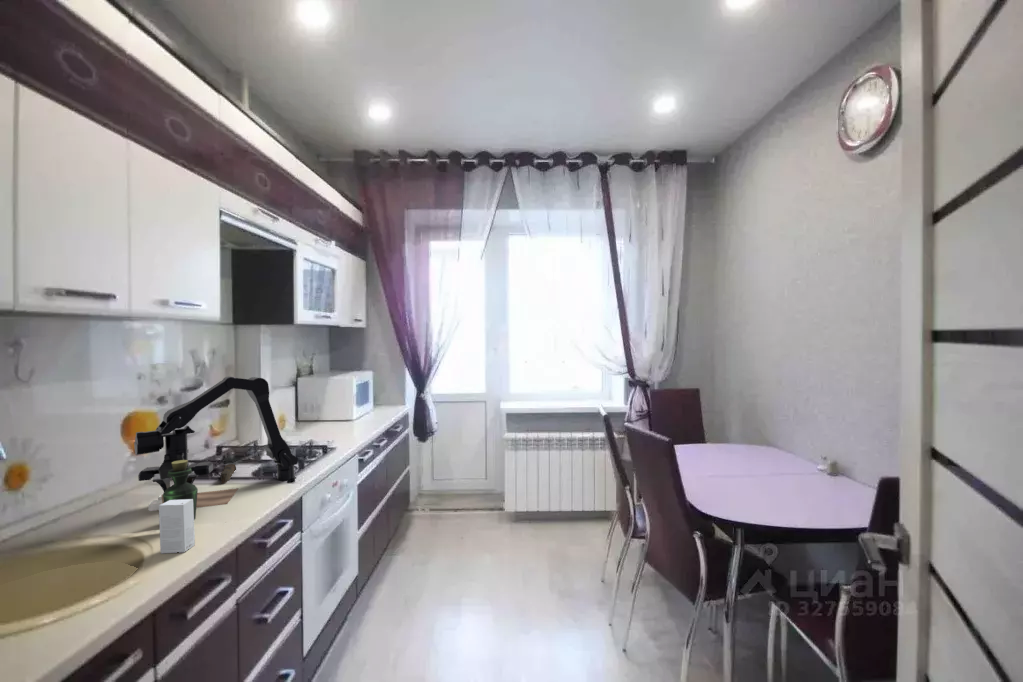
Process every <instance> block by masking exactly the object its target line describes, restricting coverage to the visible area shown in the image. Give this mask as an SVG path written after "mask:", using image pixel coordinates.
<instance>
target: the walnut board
mask: <svg viewBox="0 0 1023 682" xmlns="http://www.w3.org/2000/svg"><path fill="white" fill-rule="evenodd" d="M238 490H239V488H231V489H229V488H228V489H222V490H221V489H220V490H211V491H201V492H197V505H196V509H197V508H203V507H204V508H205V507H213V506H215V507H216V506H223V505H228V504H229V502H230V501H231V500H232V498H233V497H234V496H235V494H236V493H237V492H238Z"/></svg>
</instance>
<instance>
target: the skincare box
mask: <svg viewBox="0 0 1023 682" xmlns="http://www.w3.org/2000/svg"><path fill="white" fill-rule="evenodd" d="M158 517H159V521H158V522H159V545H160V546H159V547H160V551H159V552H160V554H175V553H177V552H179V553H186V552H188V551H189V550H190V549H192V548H193V547H194V546H195V544H196V539H195V520H194V509H193V499H185V500H169V501H167V502H165V503H163V504H161V505H159V510H158ZM188 549H189V550H188ZM185 551H186V552H185Z"/></svg>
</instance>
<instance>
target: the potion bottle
mask: <svg viewBox="0 0 1023 682" xmlns="http://www.w3.org/2000/svg"><path fill="white" fill-rule="evenodd" d="M187 462H189V461H188V460H179V461H174V462H172V467H173V469H172V470H170V471H169V472H168V475H167V476H169V477H172V478H171V479H172V482H173V483H174V484H172V485H170V487H169V488H168V489H166V490H165V491H163V492H162V493H163V500H164V503H165V502H167V501H169V500H185V499H193V509H194V521H195V520H196V519H197V518H196V517H197V508H196V505H197V493H199V492H198V491H199V489H198V487H197V486H196V485H195V484H194V483H193V484H190V483H187V482H186V481H187V478H188V474H190V473H192V470H191V468H189V467H190V466H188V467H187Z"/></svg>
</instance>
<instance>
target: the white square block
mask: <svg viewBox="0 0 1023 682" xmlns="http://www.w3.org/2000/svg"><path fill="white" fill-rule="evenodd" d="M161 504H162V500H158V499H155V500H152V501H151V502H150V503H148V512H153V511H155V512H156V511H159V505H161Z"/></svg>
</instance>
